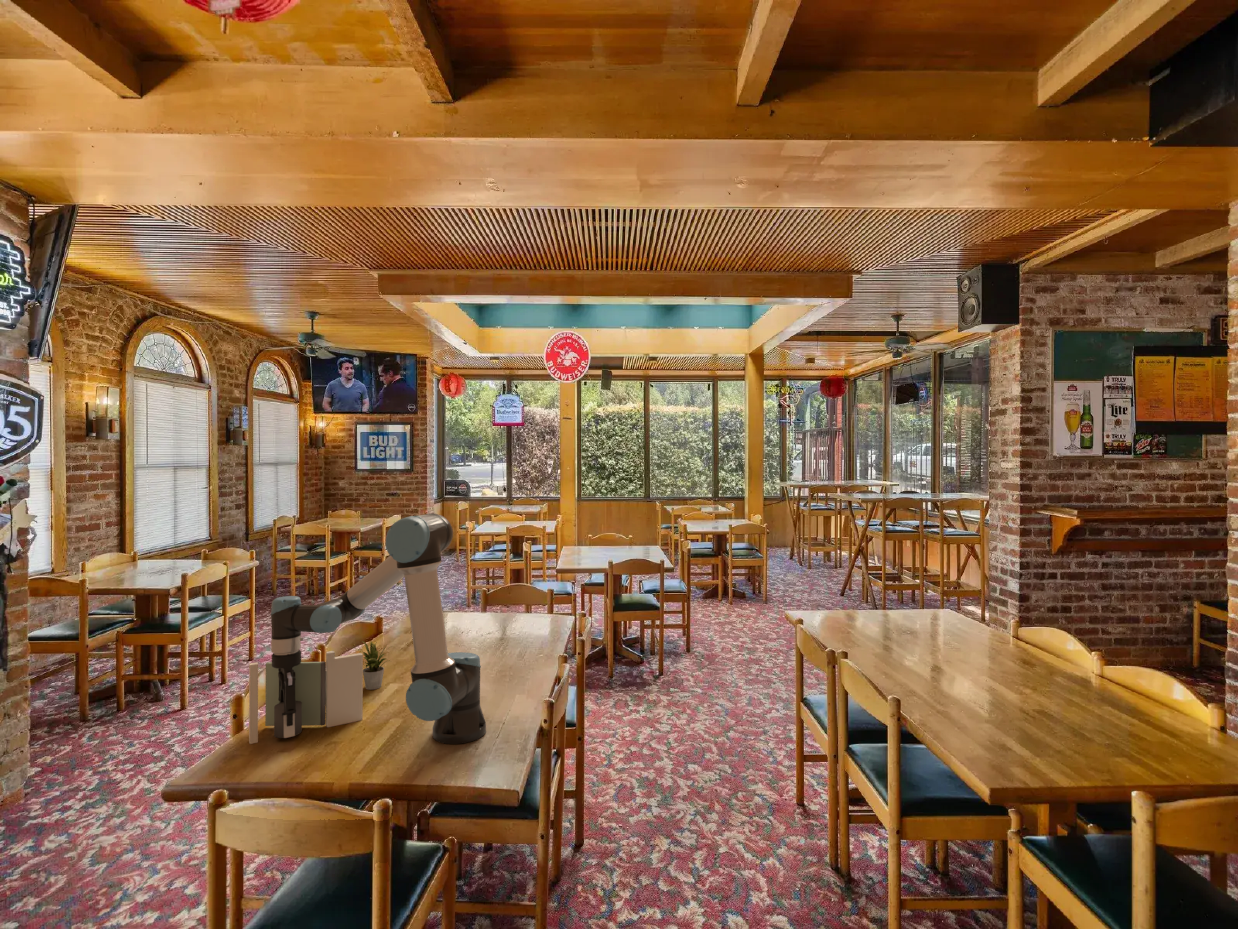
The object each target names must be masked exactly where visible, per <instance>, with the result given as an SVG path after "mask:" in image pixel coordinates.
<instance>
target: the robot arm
mask: <svg viewBox="0 0 1238 929" xmlns="http://www.w3.org/2000/svg"><path fill="white" fill-rule="evenodd" d="M453 530H454V529H453V525H452V524H451V523H450V521H449V520H448V519H447V517H445V516H443V515H441V514H437V513H433V512H432V513H426V514H420V515H419V514H418V515H410V516H407V517H403V518H401V519H399V520H396V521H395V522H393V524H392V525H391V526H390V528H389V529H388V531H387V532H386V536H385V549H386V551H387V553H388V555H389V556H387V558H385V559H384V560H383V561H382V562H381V563H380V564H379V565H377V566H376V567H375V568H373V569H372V570H371V571H370V572H369V573H367V574H366V575H364V577H362V578H361V579H360V580H359V581H357V582H356V583H354V585H353V586H351V587H350V588H348V590H347V591H345V592H344V593H343V594H342V595H341V596H339V597H337V598H333V599H331V600H328V601H325V602H322V603H319V604H302V601H301V600H302V599H301V597H300V596H298V595H297V596H296V595H284V596H280V597H276V598H274V599H272V601H271V609H270V610H271V612H270V620H271V621H270V622H271V623H270V624H271V638H270V644H271V646H270V648H271V649H270V650H271V653H272V654H271V662H272V667H273V668H277V669H278V671H279V672H278V677H279V698H278V700H279V701H280V702H279V703H281V702H284V713H282V716H283V715H284V738H283V739H287V738H291V737H295V736H296V735H295V713H296V702H295V680H296V678H295V672H294V670H293V669H292V668H293V667H294V666H297V665H299V664H300V663H301V662H302V650H300V649H301V648H302V644H301V642H302V641H304V638H303V637H302V633H303V632H306V633H315V634H316V633H318V634H325V633H328V634H329V633H330V634H331V633H333V632H335V631H336V630H337V629H338V628H339V627H340V625H341V624H343V623H346V622H349V621H354V620H355V619H357V618H359V617H360V616H362V615H363V614H364V612H365V610H366V609H367V607H368V606H370V605H371V604H373V603H374V602H375V601H376V600H378V599H379V598H380V597H381V596H382V595H384V594H385V593H386V592H387V591H389V590H390V589H391V588H392V587H394V586H395V585H397V583H399V582H400V581H401V580H402V579H403V578H404V583H405V591H406V599H407V600H406V601H407V606H408V614H409V621H410V629H411V638H412V645H413V652H414V659H415V660H414V661H415V663H414V664H413V666H411V669H410V675H411V683H410V684H409V686H408V688H407V689H406V692H405V702H406V705H407V708H408V710H409V711H410V712H411V714H412V715H414V716H415V717H416V718H417V719H419V720H421V721H424V722H433V725H432V739H433V740H434V741H435V742H438V743H441V744H447V745H458V744H459V745H460V744H467V743H470V742H473V741H474V742H475V741H477V740H479V739H480V738H482V737H483V736H484V735H485V734H486V733H487V723H486V722H487V721H486V719H485V716H484V713H483V710H482V708H481V668H482V665H481V659H480V656H479V655H478V654H476V653H473V652H466V651H465V652H462V651H461V652H457V651H456V652H449V651H448V650H449V649H448V644H447V636H446V629H445V622H444V614H443V605H442V599H441V597H442V596H441V591H440V590H441V588H440V584H439V576H438V567H439V566H440V565H441V564H442V562H443V561H442V553H443V552H444V551H445V550H447V548H448V547H450V545H451V543H452V541H453V538H454V531H453Z"/></svg>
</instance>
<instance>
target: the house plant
mask: <svg viewBox="0 0 1238 929" xmlns="http://www.w3.org/2000/svg"><path fill="white" fill-rule="evenodd" d="M361 642H362V643H363V644H364V646H365V649H366V651H367V652H366V651H363V650H359V652H358V653H362V654H363V656H364V657H363V659H364V660H366V661H364V662H363V663H364V664H363V667H365V668H364V669H363V681H364V685H365V686H364V687H365V690H369V691H370V690H371V691H372V690H373V691H374V690H377V689H380V688H381V687H382V684H383V678H384V673H385V667H384V666H383V665H384V664H385V663H386V662H391V659H390V660H387V658H382V657H384V656H385V653H384V652H385V651H384V650H385V649H386V647H387V645H388V644H386V645H385V647H384V648H383V650H382V651H381V652H380V654H379V650H377V647H376V645H377V642H376V643H373V641H370V644H369V646H368V643H366V642H365V641H361ZM392 647H393V645H392V646H390V647H388V649H389V648H392ZM351 648H352V649H353V648H354V649H355V646H354V647H352V646H351V647H350V649H351ZM385 660H386V661H385ZM383 661H385V662H383Z"/></svg>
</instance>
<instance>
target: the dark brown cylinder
mask: <svg viewBox="0 0 1238 929" xmlns="http://www.w3.org/2000/svg"><path fill="white" fill-rule="evenodd" d="M295 702H296V713H295V736H298V735H299V734H301V733H302V731H303V730H302V729H303V727H302V702H301V701H296V700H295ZM282 713H284V702H281V703H279V704H276V705H275V706H274V726H273V734H274V736H273V737H274V738H279V739H285V738H284V715H283V716H282Z"/></svg>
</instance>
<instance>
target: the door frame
mask: <svg viewBox="0 0 1238 929" xmlns="http://www.w3.org/2000/svg"><path fill="white" fill-rule="evenodd" d="M362 653H363V652H360V653H359V652H358V653H352V654H347V655H339V656H335V654H336V651H334V650H330V651H326V652H325V662H326V724H325V726H326V728H331V727H335V726H341V725H345V724H351V723H355V722H359V721H363V718H364V717H363V716H364V714H363V706H364V705H363V702H364V700H363V698H364V697H363V696H364V694H363V691H364V687H363V686H364V684H363V681H364V676H363V667H364V665H363V663H364V658H363V656H364V653H363V654H362ZM248 667H249V668H248V670H249V671H248V672H249V673H248V674H249V675H248V680H249V682H248V686H249V687H248V690H249V691H248V693H249V695H248V698H249V699H248V743H249V745H252V744H257V743H259V662H258V661H257V662H252V663H251V662H250V663H249V665H248Z"/></svg>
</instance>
